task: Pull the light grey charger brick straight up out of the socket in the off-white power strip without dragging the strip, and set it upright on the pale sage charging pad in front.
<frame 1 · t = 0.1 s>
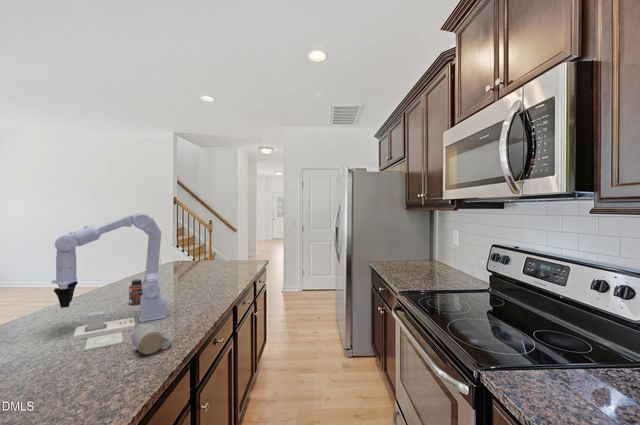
hand: (66, 304, 111), 10 cm above the counter, fingers open, 7 cm apart
supplement bottle: (136, 304, 145), on the counter
ceramic mug: (152, 350, 97), on the counter
power strip: (106, 330, 112), on the counter
charging pad: (104, 341, 102), on the counter
charger: (96, 332, 110), resting in power strip
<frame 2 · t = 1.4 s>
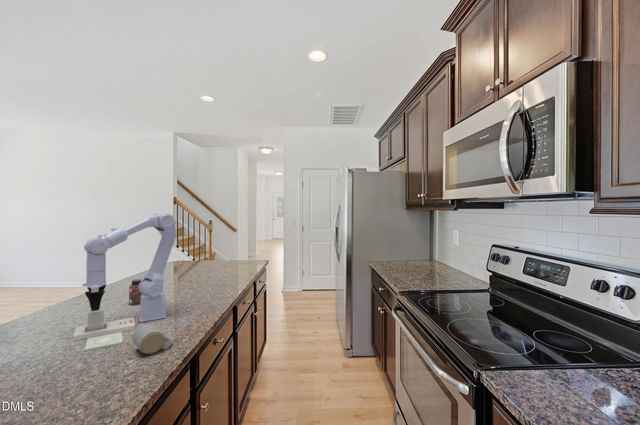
hand: (96, 307, 110), 9 cm above the counter, fingers open, 7 cm apart
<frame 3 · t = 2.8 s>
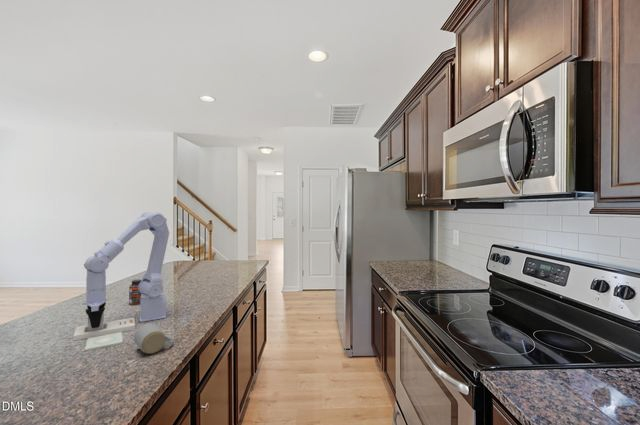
hand: (96, 325, 110), 2 cm above the counter, fingers closed on charger, 4 cm apart
charger: (96, 332, 110), resting in power strip, touching gripper
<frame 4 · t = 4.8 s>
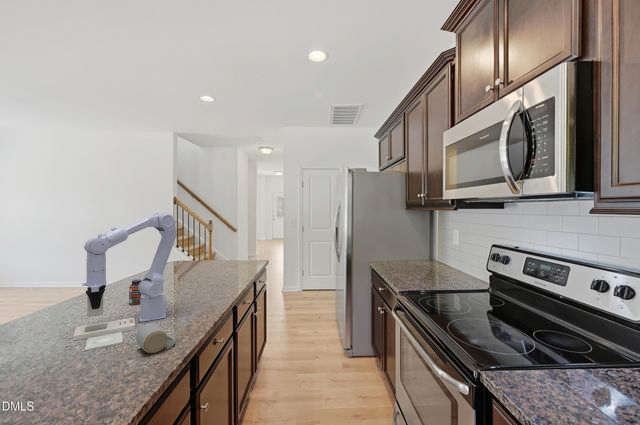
hand: (96, 307, 110), 9 cm above the counter, fingers closed on charger, 4 cm apart
charger: (95, 314, 110), point 6 cm above the counter, touching gripper
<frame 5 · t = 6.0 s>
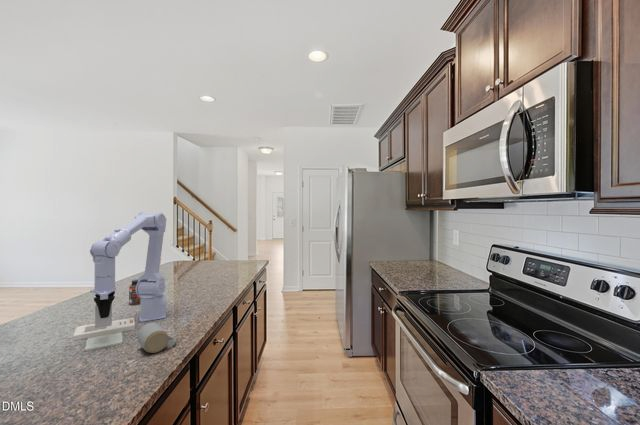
hand: (104, 315, 102), 9 cm above the counter, fingers closed on charger, 4 cm apart
charger: (103, 324, 102), point 6 cm above the counter, touching gripper
when the fingers open (4 cm above the counter, at t = 7.3 s): charger stays where it is, resting on charging pad.
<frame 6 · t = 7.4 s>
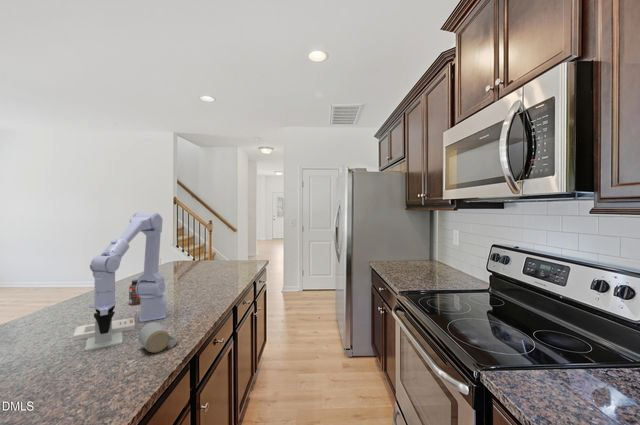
hand: (104, 330, 102), 4 cm above the counter, fingers open, 5 cm apart
charger: (103, 340, 102), point 1 cm above the counter, touching charging pad
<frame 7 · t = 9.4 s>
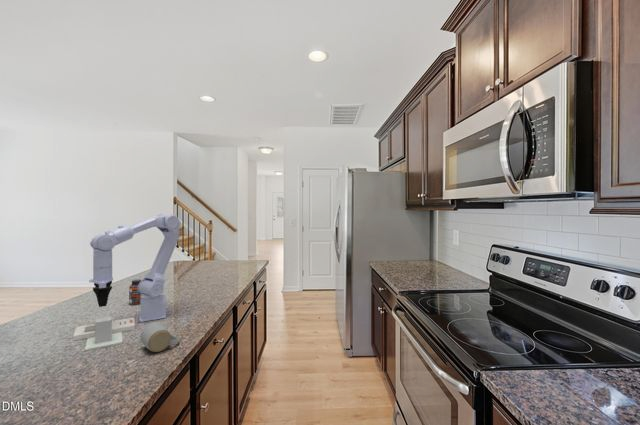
hand: (102, 303, 111), 10 cm above the counter, fingers open, 7 cm apart
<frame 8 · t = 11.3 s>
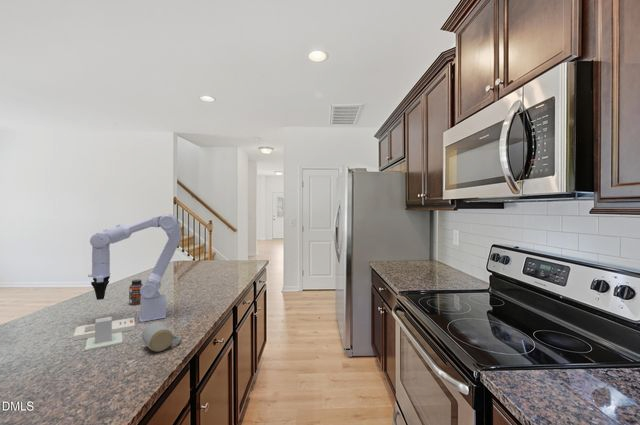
hand: (100, 297, 119), 10 cm above the counter, fingers open, 7 cm apart
at the end: charger 0.3 cm off-centre on the charging pad, point 0.7 cm above the charging pad's base; charger tilted 0°; power strip moved 0.0 cm from its start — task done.
